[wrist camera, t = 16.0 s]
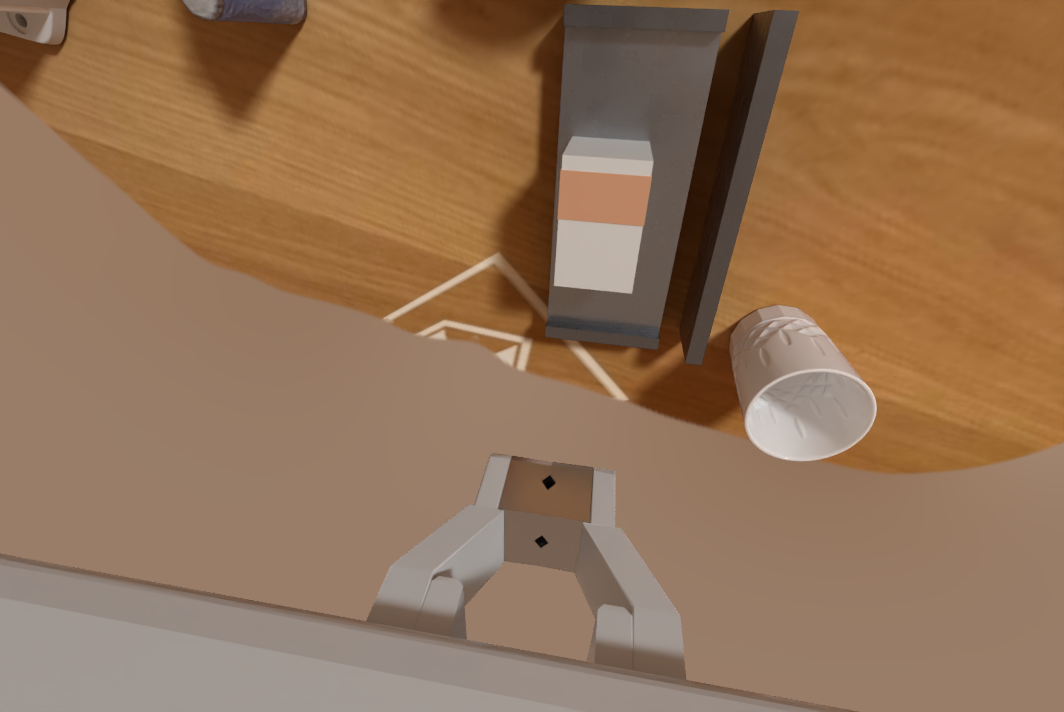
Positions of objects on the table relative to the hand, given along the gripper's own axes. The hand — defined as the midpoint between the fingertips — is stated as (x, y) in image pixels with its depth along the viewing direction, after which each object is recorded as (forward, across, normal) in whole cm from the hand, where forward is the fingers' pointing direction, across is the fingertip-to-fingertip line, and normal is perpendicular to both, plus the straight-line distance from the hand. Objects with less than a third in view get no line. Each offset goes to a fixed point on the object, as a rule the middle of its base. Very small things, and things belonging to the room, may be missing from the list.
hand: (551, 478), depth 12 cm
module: (+27, 0, +1) cm, 27 cm away
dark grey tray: (+29, -3, +1) cm, 29 cm away
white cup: (+29, -16, +12) cm, 35 cm away
